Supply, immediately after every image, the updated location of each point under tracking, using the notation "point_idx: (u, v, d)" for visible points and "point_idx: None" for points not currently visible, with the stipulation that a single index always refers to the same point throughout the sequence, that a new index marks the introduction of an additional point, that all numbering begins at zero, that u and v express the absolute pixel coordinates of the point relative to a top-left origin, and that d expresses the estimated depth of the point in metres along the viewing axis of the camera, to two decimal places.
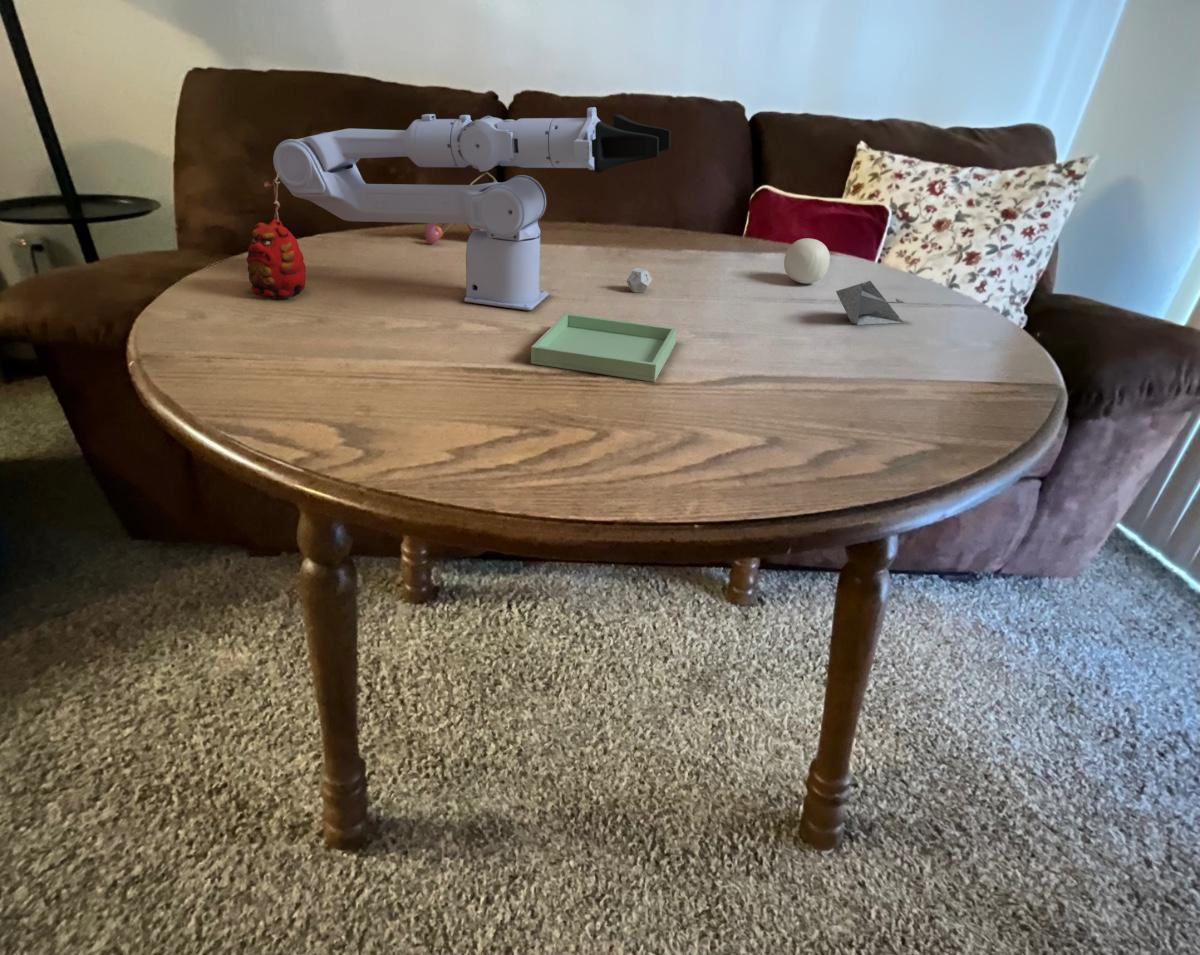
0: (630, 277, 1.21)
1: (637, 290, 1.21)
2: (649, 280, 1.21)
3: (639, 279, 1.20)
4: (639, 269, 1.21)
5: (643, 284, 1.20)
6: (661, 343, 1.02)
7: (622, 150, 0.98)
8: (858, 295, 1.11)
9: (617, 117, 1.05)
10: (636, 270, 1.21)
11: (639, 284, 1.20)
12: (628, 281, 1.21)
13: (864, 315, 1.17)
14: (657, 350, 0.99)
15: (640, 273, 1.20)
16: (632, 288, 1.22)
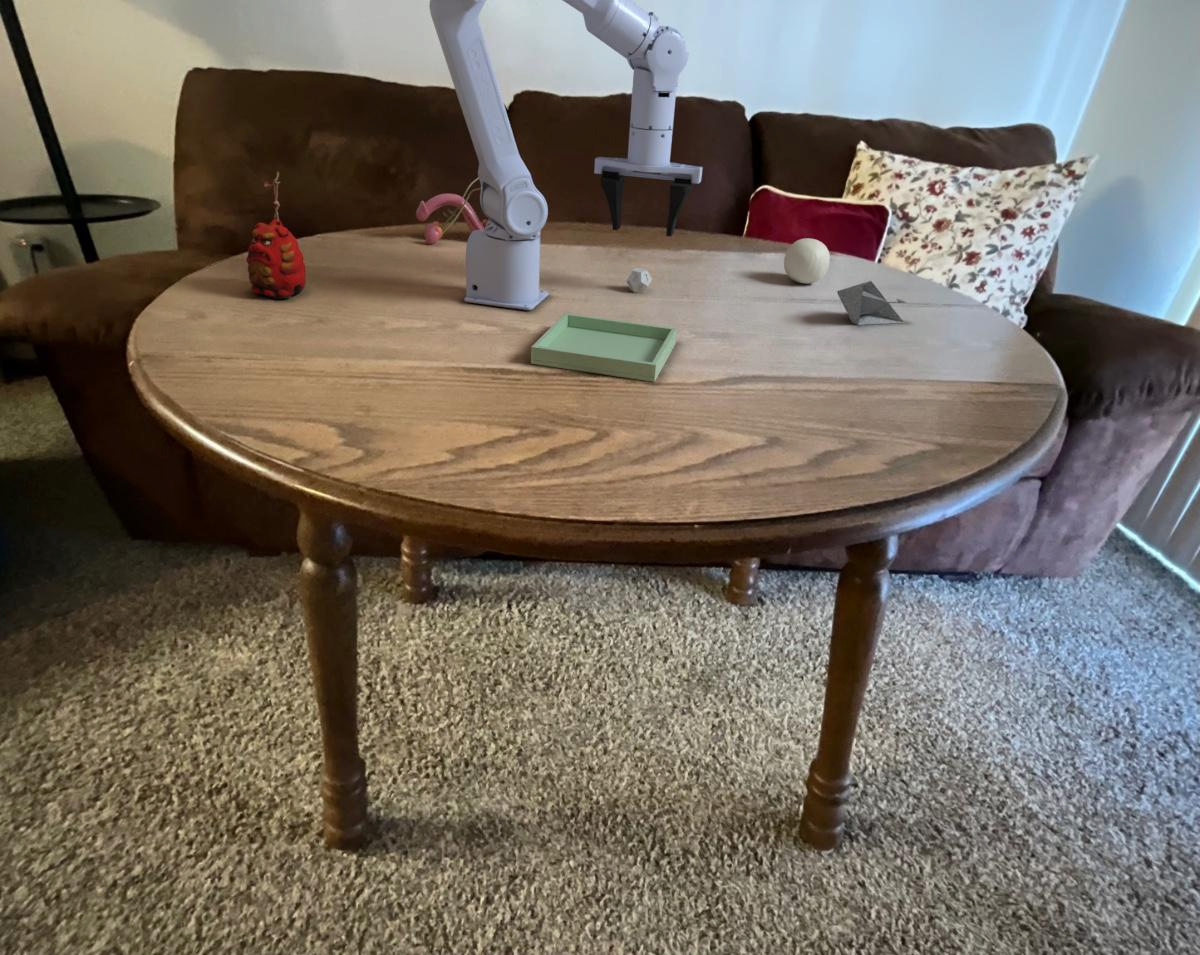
0: (630, 277, 1.21)
1: (637, 290, 1.21)
2: (649, 280, 1.21)
3: (639, 279, 1.20)
4: (639, 269, 1.21)
5: (643, 284, 1.20)
6: (661, 343, 1.02)
7: None
8: (859, 295, 1.11)
9: (624, 177, 1.18)
10: (636, 270, 1.21)
11: (639, 284, 1.20)
12: (628, 281, 1.21)
13: (865, 315, 1.17)
14: (657, 350, 0.99)
15: (640, 273, 1.20)
16: (632, 288, 1.22)
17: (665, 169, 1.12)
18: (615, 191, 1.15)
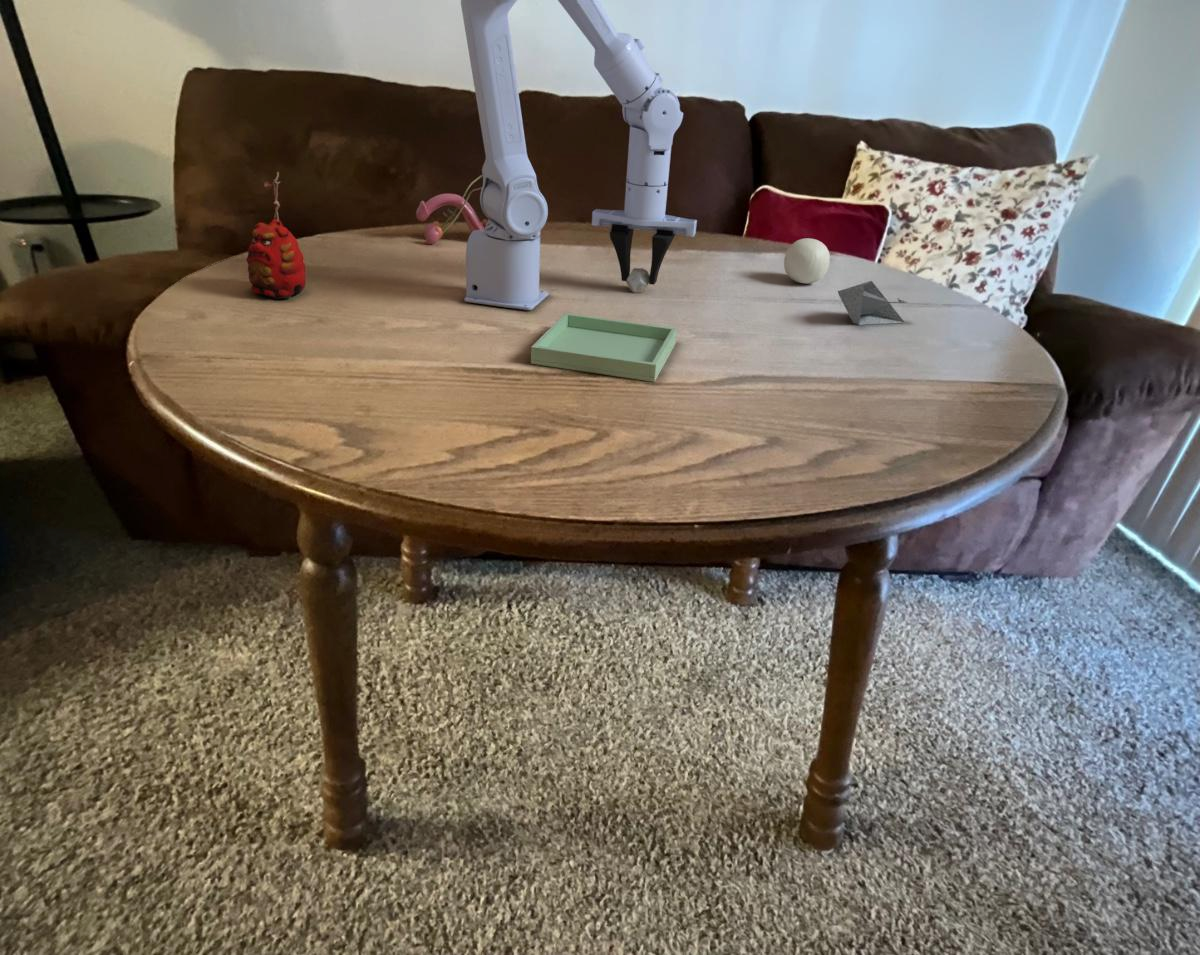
0: (629, 277, 1.21)
1: (636, 290, 1.21)
2: (648, 280, 1.21)
3: (639, 279, 1.20)
4: (638, 269, 1.21)
5: (642, 283, 1.20)
6: (661, 343, 1.02)
7: None
8: (860, 295, 1.11)
9: (633, 229, 1.21)
10: (635, 270, 1.21)
11: (639, 284, 1.21)
12: (627, 281, 1.21)
13: (865, 315, 1.17)
14: (657, 350, 0.99)
15: (639, 273, 1.20)
16: (631, 288, 1.22)
17: (660, 223, 1.15)
18: (624, 244, 1.18)
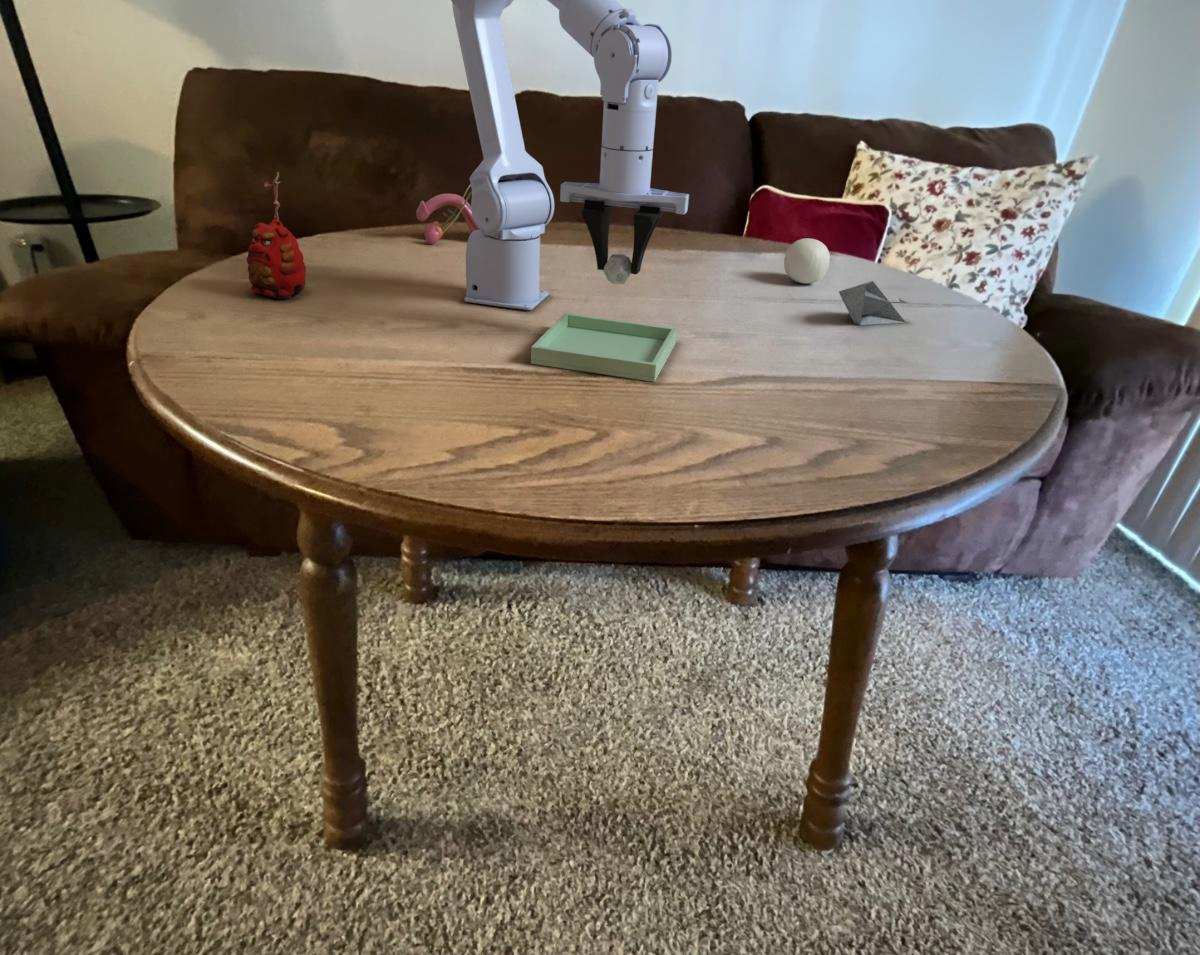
0: (607, 265, 0.99)
1: (616, 281, 0.99)
2: (630, 268, 0.99)
3: (618, 267, 0.98)
4: (618, 255, 0.99)
5: (622, 273, 0.98)
6: (661, 343, 1.02)
7: None
8: (861, 295, 1.11)
9: (611, 206, 0.99)
10: (614, 256, 0.99)
11: (619, 274, 0.98)
12: (605, 270, 0.99)
13: (866, 315, 1.17)
14: (657, 350, 0.99)
15: (619, 260, 0.98)
16: (610, 278, 0.99)
17: (644, 197, 0.93)
18: (600, 225, 0.96)
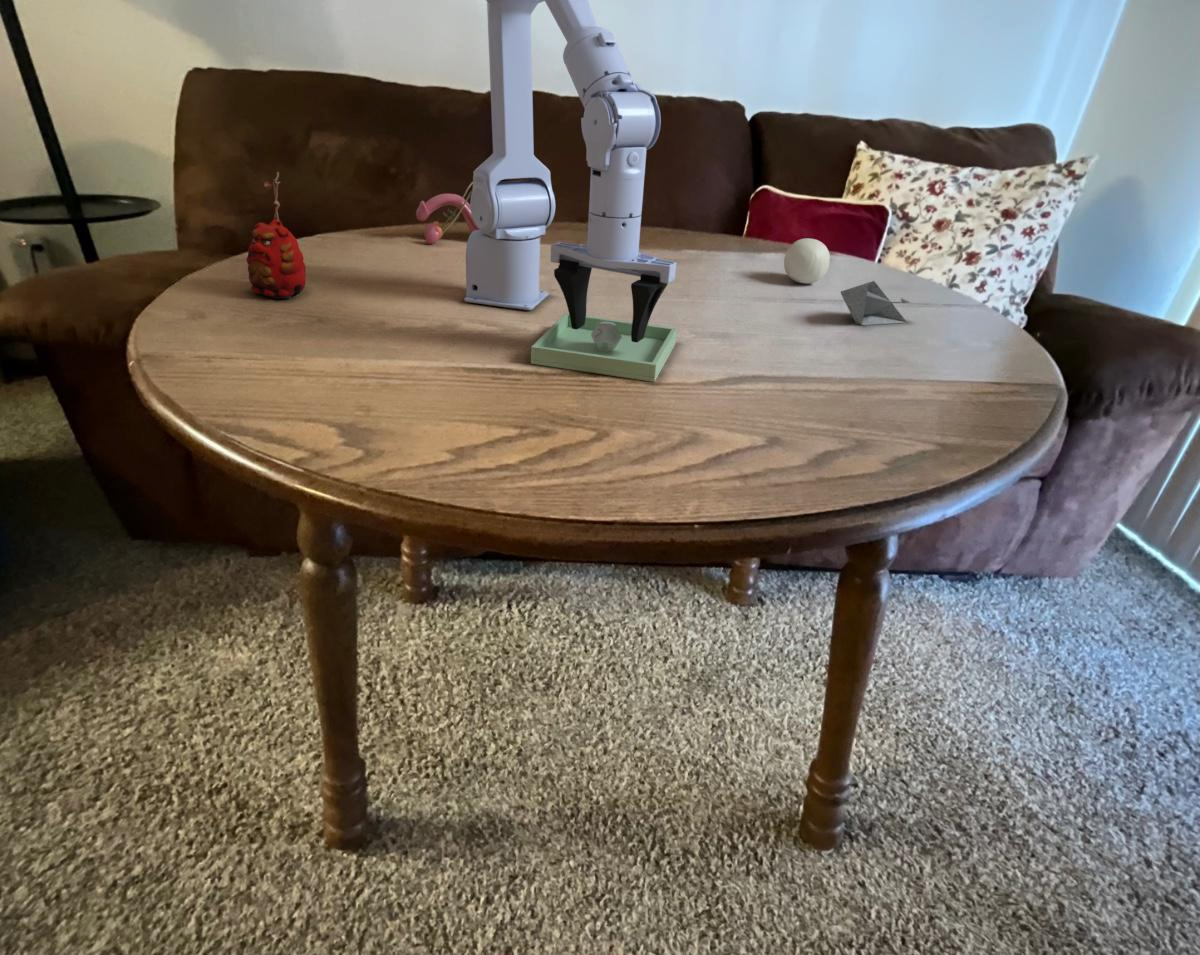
0: (594, 332, 0.97)
1: (602, 349, 0.98)
2: (617, 337, 0.97)
3: (604, 335, 0.96)
4: (607, 323, 0.98)
5: (608, 342, 0.97)
6: (661, 343, 1.02)
7: None
8: (863, 295, 1.11)
9: None
10: (602, 324, 0.97)
11: (604, 342, 0.97)
12: (592, 337, 0.98)
13: (868, 315, 1.17)
14: (657, 350, 0.99)
15: (605, 328, 0.96)
16: None
17: (626, 264, 0.91)
18: (571, 285, 0.95)
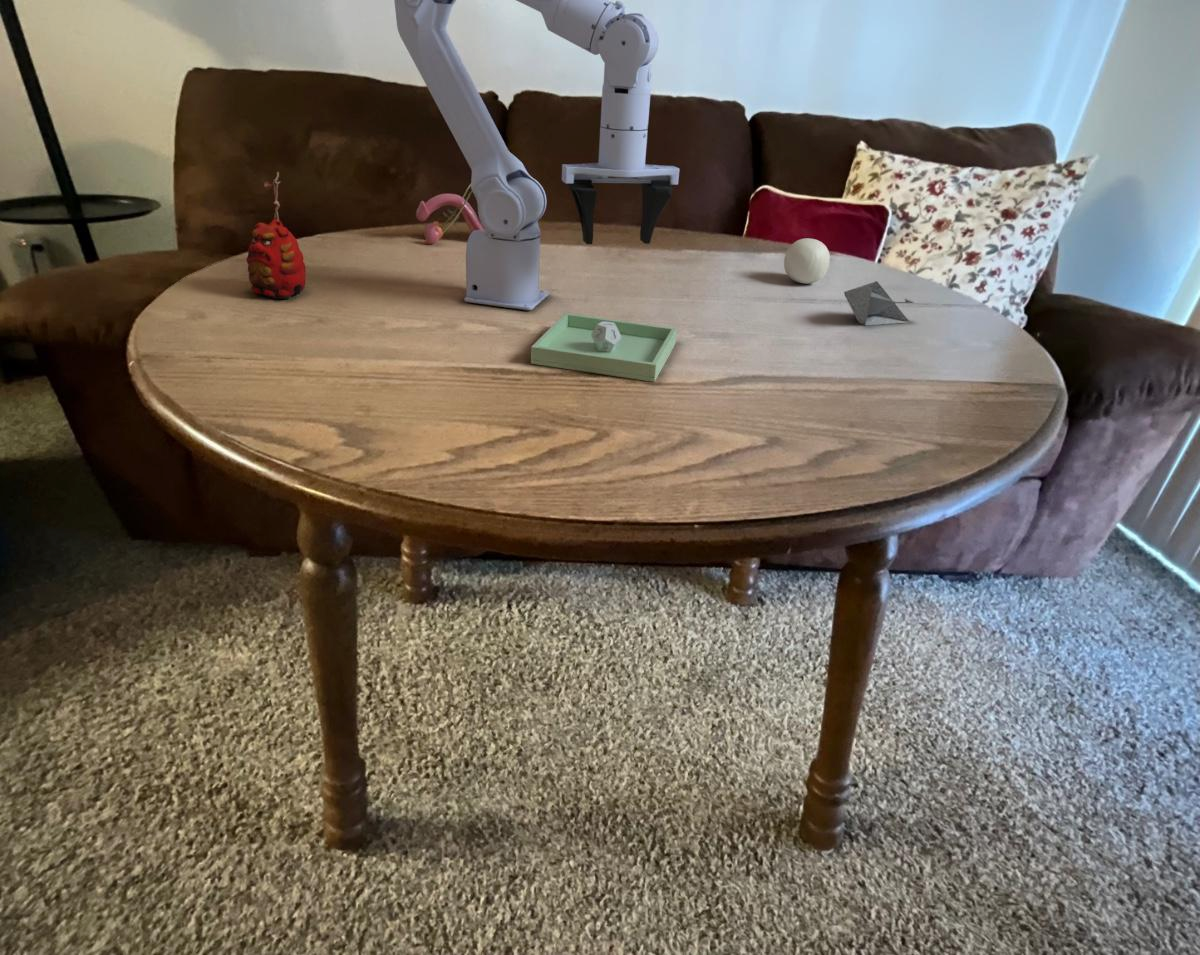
0: (594, 332, 0.97)
1: (602, 349, 0.98)
2: (617, 337, 0.97)
3: (604, 335, 0.96)
4: (607, 323, 0.98)
5: (608, 342, 0.97)
6: (661, 343, 1.02)
7: None
8: (867, 296, 1.10)
9: None
10: (602, 324, 0.97)
11: (604, 342, 0.97)
12: (592, 337, 0.98)
13: (871, 315, 1.17)
14: (657, 350, 0.99)
15: (605, 328, 0.96)
16: None
17: (648, 172, 1.03)
18: (594, 201, 1.03)
